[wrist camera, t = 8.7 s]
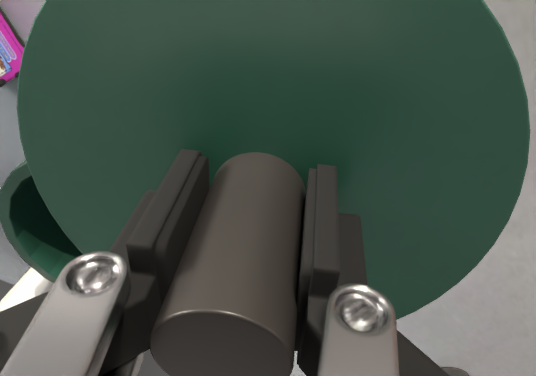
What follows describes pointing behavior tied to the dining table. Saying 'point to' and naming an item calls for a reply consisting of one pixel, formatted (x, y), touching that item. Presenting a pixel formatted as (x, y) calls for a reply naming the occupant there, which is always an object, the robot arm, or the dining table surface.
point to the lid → (277, 147)
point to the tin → (33, 226)
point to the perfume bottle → (26, 289)
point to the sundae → (454, 371)
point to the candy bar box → (9, 50)
